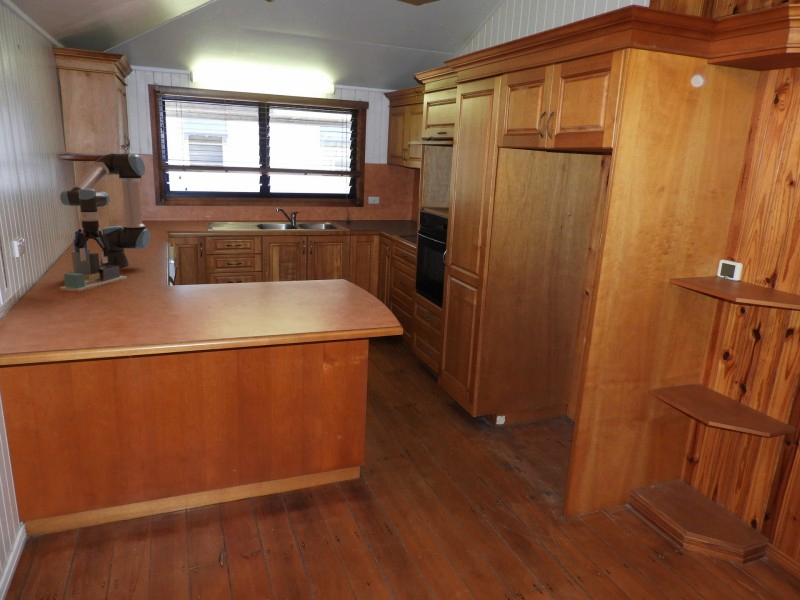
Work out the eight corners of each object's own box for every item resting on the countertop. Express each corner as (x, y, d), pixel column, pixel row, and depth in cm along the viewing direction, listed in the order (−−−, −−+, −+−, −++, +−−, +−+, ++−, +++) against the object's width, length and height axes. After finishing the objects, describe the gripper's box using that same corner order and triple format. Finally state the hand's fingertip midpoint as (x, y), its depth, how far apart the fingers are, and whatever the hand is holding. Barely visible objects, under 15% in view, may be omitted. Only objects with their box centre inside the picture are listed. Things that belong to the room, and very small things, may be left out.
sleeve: (110, 275, 304) (109, 264, 302) (120, 276, 302) (118, 265, 301) (94, 279, 294) (93, 268, 292) (104, 280, 292) (103, 269, 290)
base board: (109, 276, 307) (109, 274, 306) (127, 278, 304) (127, 276, 303) (59, 289, 277) (59, 287, 277) (79, 291, 274) (79, 289, 274)
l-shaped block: (112, 273, 303) (109, 249, 299) (116, 273, 302) (114, 249, 298) (84, 280, 285) (81, 255, 282) (89, 281, 285) (86, 255, 281)
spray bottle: (96, 276, 307) (91, 230, 301) (87, 279, 298) (82, 232, 292) (80, 275, 307) (75, 229, 301) (71, 279, 299) (65, 232, 292)
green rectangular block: (72, 285, 281) (70, 272, 280) (85, 286, 279) (83, 273, 277) (65, 286, 278) (63, 274, 276) (78, 288, 275) (77, 275, 274)
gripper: (63, 219, 283) (68, 261, 288) (104, 222, 276) (108, 265, 281) (76, 218, 290) (80, 258, 295) (116, 221, 283) (119, 262, 288)
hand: (94, 261), depth 288 cm, fingers open, 13 cm apart
